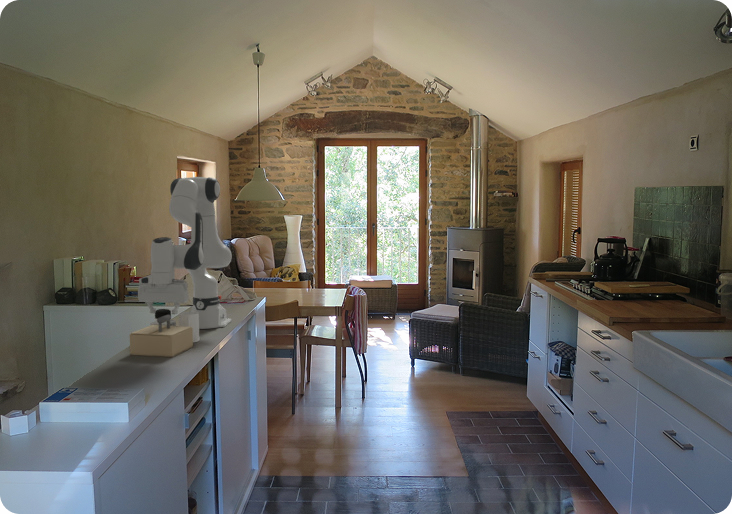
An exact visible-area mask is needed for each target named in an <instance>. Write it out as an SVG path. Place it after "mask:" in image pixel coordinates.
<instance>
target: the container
mask: <svg viewBox="0 0 732 514" xmlns="http://www.w3.org/2000/svg"><path fill="white" fill-rule="evenodd" d="M155 311H156V313H154V321H152V322H150V324H149V326H151V325H159V323H158V322H157V319H158V318H160V317H163V316H165V315H170V316H171V317H172V309H169V308H158V309H156V310H155ZM176 321H177V320H175V319H171V320H170V326H177V323H176ZM162 325H164V326H167V321H166V322H164V323H162Z"/></svg>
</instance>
